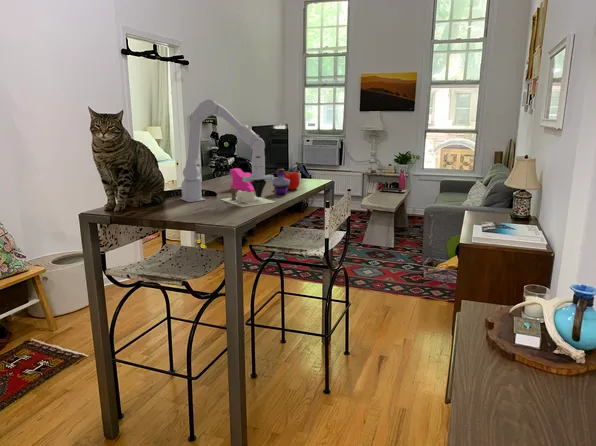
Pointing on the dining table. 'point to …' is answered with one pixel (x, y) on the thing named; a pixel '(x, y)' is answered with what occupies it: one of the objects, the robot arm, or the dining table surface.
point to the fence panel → (246, 195)
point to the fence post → (233, 193)
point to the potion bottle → (281, 183)
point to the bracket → (240, 180)
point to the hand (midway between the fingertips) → (258, 196)
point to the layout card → (249, 203)
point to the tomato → (292, 180)
